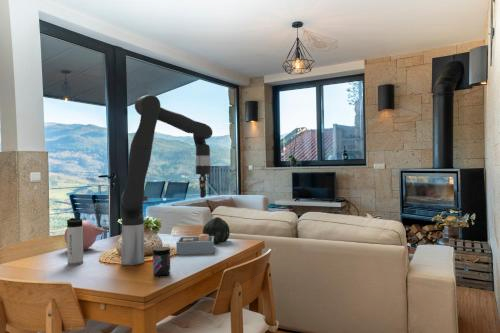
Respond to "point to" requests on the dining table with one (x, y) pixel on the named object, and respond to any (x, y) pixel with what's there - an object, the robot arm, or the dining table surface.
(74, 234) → the travel mug
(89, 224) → the balloon
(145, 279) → the dining table surface
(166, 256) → the supplement container
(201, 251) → the tote
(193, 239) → the walnut cube
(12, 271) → the dining table surface
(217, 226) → the squash
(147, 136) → the robot arm
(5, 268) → the dining table surface
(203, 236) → the terracotta cylinder
